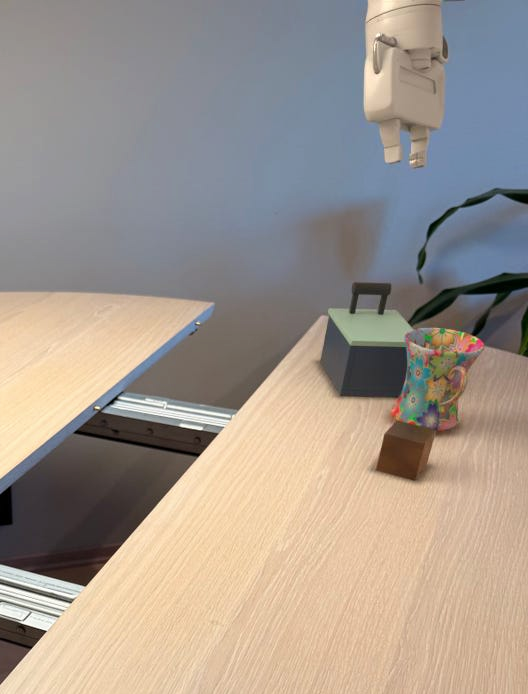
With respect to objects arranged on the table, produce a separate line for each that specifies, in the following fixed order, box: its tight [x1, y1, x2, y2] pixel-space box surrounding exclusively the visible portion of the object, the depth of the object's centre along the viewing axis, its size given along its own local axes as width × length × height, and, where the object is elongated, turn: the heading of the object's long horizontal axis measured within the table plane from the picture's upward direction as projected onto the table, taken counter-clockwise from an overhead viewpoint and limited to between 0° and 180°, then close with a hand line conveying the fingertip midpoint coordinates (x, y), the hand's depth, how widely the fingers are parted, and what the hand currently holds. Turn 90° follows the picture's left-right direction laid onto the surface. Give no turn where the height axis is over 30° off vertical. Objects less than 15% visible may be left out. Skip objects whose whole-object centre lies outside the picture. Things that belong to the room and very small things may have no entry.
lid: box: [327, 281, 414, 347], centre depth 132 cm, size 13×10×5 cm
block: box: [375, 420, 437, 481], centre depth 113 cm, size 5×5×5 cm
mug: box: [389, 327, 485, 432], centre depth 121 cm, size 12×9×11 cm
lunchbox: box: [319, 314, 407, 398], centre depth 135 cm, size 13×10×7 cm
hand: (406, 165), depth 126 cm, fingers open, 8 cm apart
